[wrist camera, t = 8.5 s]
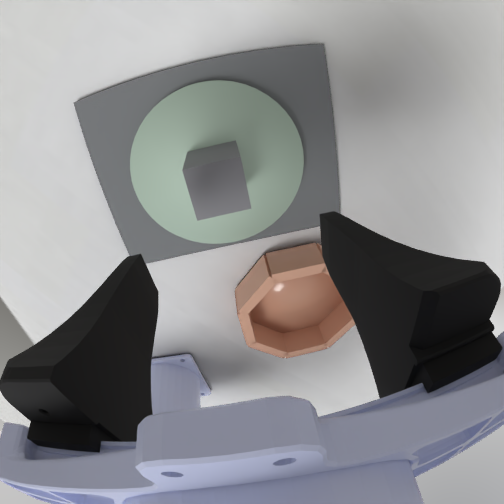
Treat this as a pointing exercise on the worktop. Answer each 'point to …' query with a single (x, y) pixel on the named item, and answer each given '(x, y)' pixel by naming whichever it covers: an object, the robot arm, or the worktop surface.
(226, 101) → the lid
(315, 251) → the bowl
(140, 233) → the mat
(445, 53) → the worktop surface
